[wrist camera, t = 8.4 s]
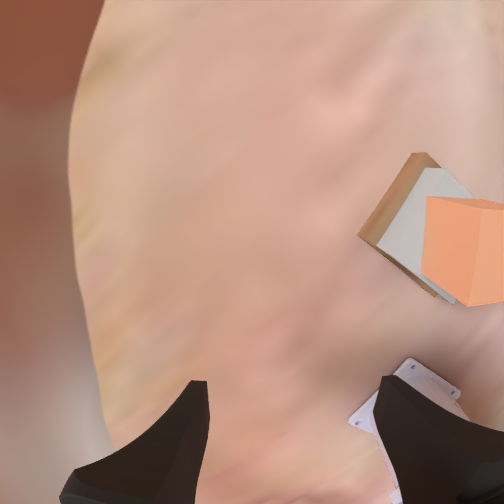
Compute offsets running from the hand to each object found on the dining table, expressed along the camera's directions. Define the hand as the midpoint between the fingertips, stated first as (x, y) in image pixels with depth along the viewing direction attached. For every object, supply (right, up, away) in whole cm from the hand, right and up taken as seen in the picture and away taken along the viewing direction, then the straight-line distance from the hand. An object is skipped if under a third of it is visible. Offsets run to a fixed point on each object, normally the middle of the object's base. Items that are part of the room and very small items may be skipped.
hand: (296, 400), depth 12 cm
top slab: (+10, +7, +7) cm, 14 cm away
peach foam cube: (+10, +7, +4) cm, 13 cm away
